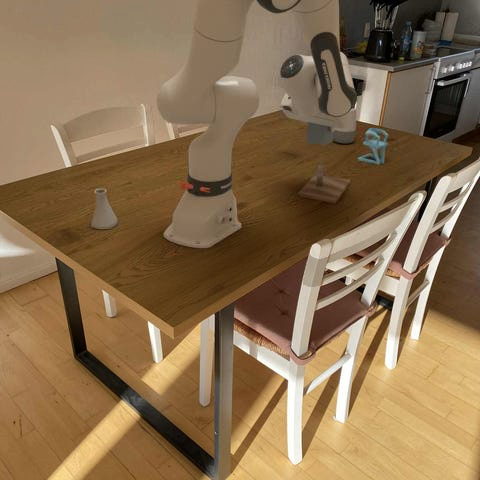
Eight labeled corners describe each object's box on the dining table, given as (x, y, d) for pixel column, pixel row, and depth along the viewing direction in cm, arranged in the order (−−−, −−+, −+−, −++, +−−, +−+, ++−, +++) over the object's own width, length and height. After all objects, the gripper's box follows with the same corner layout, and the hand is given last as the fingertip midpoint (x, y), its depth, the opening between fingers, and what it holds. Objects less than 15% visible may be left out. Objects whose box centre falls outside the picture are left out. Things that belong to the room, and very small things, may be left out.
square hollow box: (323, 145, 150) (326, 120, 146) (306, 142, 153) (308, 116, 149) (332, 141, 154) (335, 116, 150) (315, 137, 157) (318, 112, 153)
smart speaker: (337, 137, 207) (341, 103, 200) (357, 141, 202) (362, 107, 196) (327, 142, 200) (331, 108, 194) (348, 147, 196) (352, 112, 189)
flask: (111, 231, 130) (107, 197, 125) (86, 228, 131) (81, 194, 126) (122, 219, 136) (118, 186, 131) (98, 217, 137) (93, 184, 132)
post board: (335, 203, 148) (338, 178, 144) (297, 196, 152) (299, 171, 148) (349, 183, 162) (353, 160, 158) (315, 177, 167) (317, 154, 163)
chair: (375, 166, 177) (381, 134, 171) (357, 160, 183) (362, 128, 177) (387, 161, 182) (393, 130, 176) (369, 155, 187) (374, 125, 181)
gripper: (346, 97, 135) (356, 125, 147) (284, 87, 146) (298, 113, 157) (336, 116, 134) (348, 142, 146) (275, 105, 145) (290, 130, 156)
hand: (321, 127), depth 152 cm, fingers closed on square hollow box, 6 cm apart
